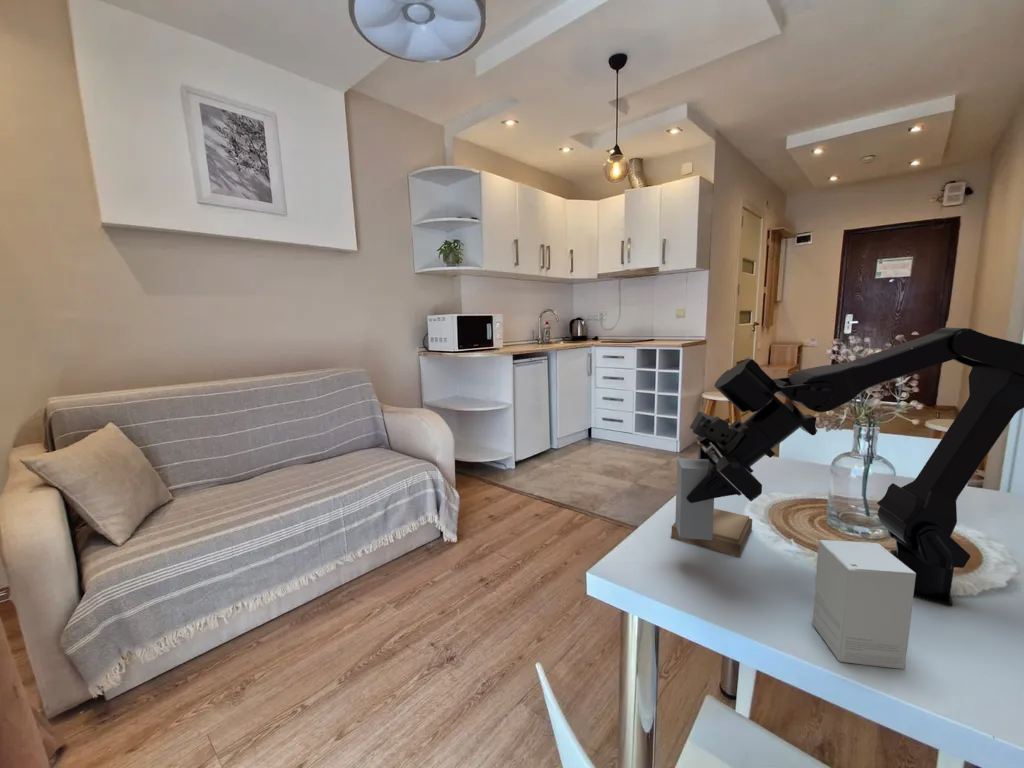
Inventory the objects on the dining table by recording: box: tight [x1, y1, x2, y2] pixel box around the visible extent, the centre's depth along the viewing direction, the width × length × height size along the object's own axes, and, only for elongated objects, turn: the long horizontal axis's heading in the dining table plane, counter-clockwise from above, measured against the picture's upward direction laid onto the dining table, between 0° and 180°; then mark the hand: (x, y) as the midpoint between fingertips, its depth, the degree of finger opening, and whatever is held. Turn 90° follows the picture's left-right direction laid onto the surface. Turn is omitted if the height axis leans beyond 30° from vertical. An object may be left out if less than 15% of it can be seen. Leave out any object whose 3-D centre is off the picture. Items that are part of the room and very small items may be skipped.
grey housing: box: [674, 457, 715, 540], centre depth 72 cm, size 5×5×12 cm
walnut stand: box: [670, 508, 753, 558], centre depth 85 cm, size 12×12×3 cm
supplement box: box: [811, 539, 916, 670], centre depth 55 cm, size 7×7×13 cm
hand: (685, 494), depth 73 cm, fingers closed on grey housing, 5 cm apart
